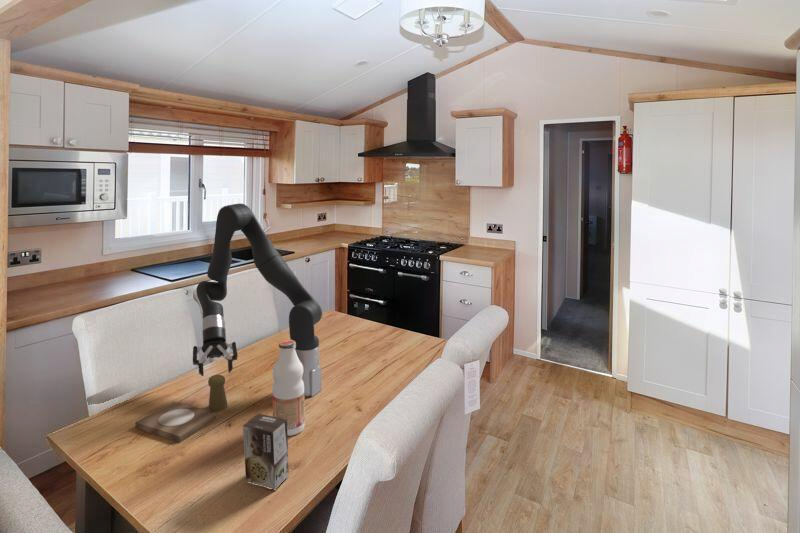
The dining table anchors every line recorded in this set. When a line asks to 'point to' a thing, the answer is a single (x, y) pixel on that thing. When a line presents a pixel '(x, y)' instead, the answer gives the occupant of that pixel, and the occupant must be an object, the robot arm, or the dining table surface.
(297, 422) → the fruit juice
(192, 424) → the walnut board
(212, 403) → the cork
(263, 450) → the coffee box
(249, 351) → the dining table surface
